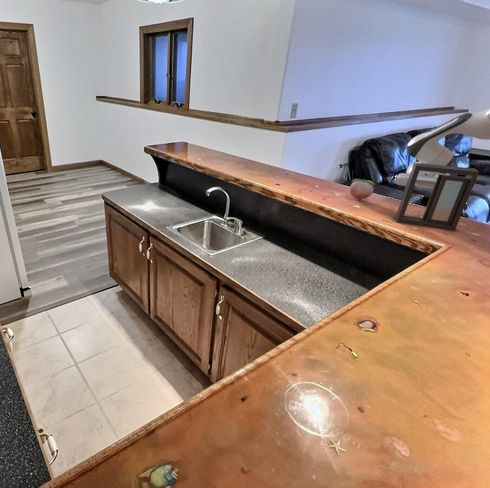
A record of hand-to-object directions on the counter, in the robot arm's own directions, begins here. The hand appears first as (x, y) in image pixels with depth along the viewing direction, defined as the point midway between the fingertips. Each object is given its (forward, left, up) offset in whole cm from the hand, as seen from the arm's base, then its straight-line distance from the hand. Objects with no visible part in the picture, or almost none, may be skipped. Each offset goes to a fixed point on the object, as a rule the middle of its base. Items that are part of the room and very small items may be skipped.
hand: (428, 187), depth 137 cm
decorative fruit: (+22, -6, -11) cm, 25 cm away
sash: (-2, +11, -9) cm, 14 cm away
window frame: (+1, +14, -10) cm, 17 cm away
